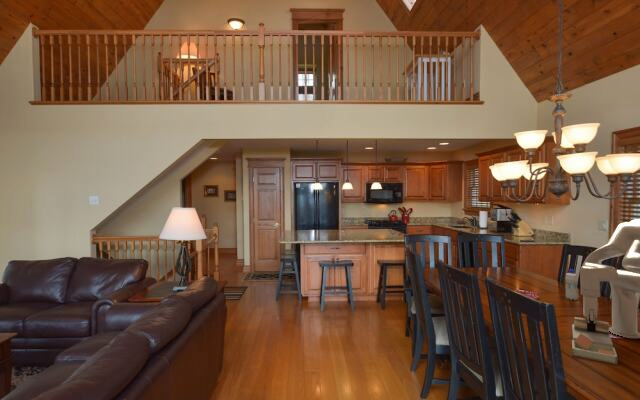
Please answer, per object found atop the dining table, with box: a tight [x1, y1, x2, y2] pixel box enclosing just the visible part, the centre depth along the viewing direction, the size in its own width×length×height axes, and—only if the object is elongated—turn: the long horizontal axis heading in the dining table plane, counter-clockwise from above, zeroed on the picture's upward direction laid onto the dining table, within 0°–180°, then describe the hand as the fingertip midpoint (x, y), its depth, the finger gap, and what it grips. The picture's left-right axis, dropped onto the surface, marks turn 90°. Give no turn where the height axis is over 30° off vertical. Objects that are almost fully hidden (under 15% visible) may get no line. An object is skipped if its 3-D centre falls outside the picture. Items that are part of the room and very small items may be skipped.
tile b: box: [574, 334, 593, 350], centre depth 158 cm, size 5×5×2 cm
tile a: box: [598, 349, 614, 356], centre depth 150 cm, size 5×5×2 cm
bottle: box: [564, 268, 578, 301], centre depth 232 cm, size 7×7×20 cm
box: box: [571, 339, 619, 365], centre depth 154 cm, size 11×15×3 cm
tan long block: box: [573, 316, 610, 335], centre depth 170 cm, size 3×13×5 cm, turn 56°
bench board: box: [571, 323, 614, 347], centre depth 167 cm, size 20×14×4 cm
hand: (591, 329), depth 170 cm, fingers closed on tan long block, 2 cm apart
